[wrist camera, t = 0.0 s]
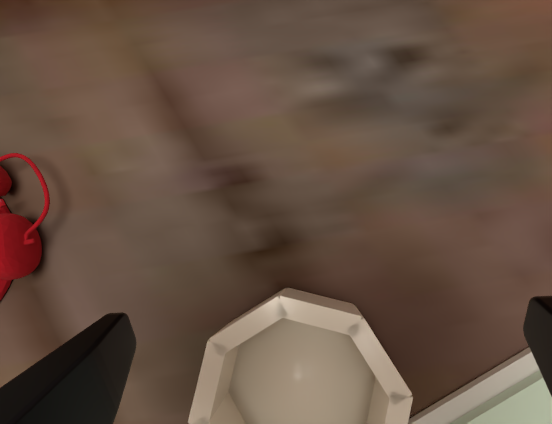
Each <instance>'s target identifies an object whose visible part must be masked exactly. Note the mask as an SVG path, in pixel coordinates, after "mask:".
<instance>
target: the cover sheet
mask: <svg viewBox="0 0 552 424" xmlns="http://www.w3.org/2000/svg"><path fill="white" fill-rule="evenodd" d="M450 424H552V396H551V394H550V392H549V390H548V388H547V385H546V383H545V381H544V379H543V376H542V374H541V372H540V370H539V371H537V372H536V373H534V374H532V375H530V376H529V377H527V378H525V379H524V380H522V381H520V382H519V383H517V384H515V385H514V386H512V387H510V388H509V389H507V390H505V391H504V392H502V393H500V394H499V395H497V396H495V397H494V398H492V399H490V400H488V401H487V402H485V403H483V404H482V405H480V406H478V407H477V408H475V409H473V410H472V411H470V412H468V413H467V414H465V415H463V416H462V417H460V418H458V419H457V420H455V421H453V422H452V423H450Z"/></svg>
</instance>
